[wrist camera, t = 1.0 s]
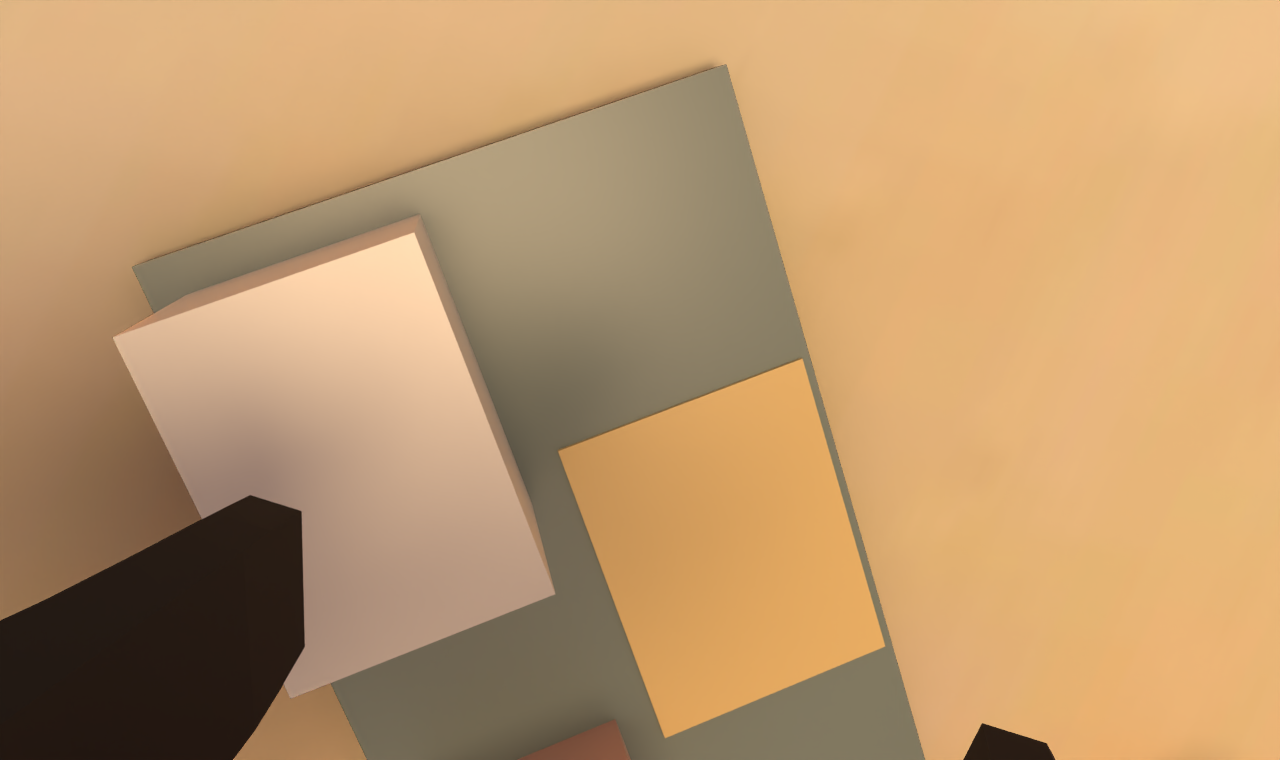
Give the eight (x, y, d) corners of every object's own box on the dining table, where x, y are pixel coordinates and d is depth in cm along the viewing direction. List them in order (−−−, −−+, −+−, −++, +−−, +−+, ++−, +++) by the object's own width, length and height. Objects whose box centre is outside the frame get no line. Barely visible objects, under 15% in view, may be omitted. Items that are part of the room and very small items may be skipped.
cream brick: (321, 583, 20) (290, 699, 16) (187, 294, 19) (112, 337, 14) (531, 502, 21) (555, 593, 17) (419, 213, 19) (414, 231, 15)
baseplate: (502, 1019, 25) (504, 1050, 24) (144, 262, 19) (129, 267, 18) (935, 828, 26) (952, 851, 25) (715, 67, 20) (727, 63, 20)
